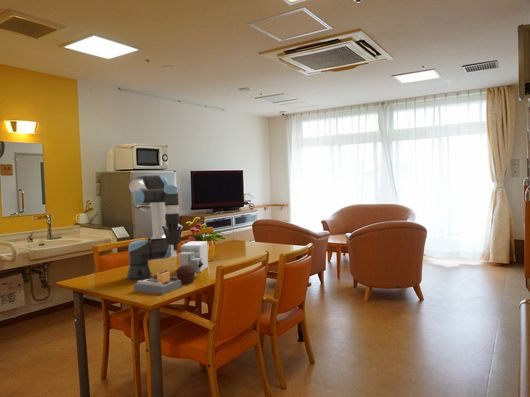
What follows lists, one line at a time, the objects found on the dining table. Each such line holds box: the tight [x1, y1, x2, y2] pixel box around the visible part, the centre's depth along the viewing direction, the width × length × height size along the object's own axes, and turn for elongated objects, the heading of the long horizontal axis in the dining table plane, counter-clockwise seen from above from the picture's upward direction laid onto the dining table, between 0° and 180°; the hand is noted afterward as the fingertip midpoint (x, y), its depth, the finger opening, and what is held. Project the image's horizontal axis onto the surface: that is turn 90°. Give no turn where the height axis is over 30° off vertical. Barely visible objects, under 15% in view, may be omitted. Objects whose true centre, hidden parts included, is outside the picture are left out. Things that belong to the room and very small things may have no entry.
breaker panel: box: [133, 274, 182, 295], centre depth 226 cm, size 20×16×6 cm
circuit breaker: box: [177, 252, 203, 277], centre depth 254 cm, size 8×14×15 cm, turn 79°
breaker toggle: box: [156, 269, 171, 283], centre depth 224 cm, size 4×6×6 cm, turn 155°
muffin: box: [175, 265, 196, 285], centre depth 240 cm, size 12×11×10 cm
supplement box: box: [180, 240, 209, 273], centre depth 274 cm, size 17×13×18 cm
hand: (173, 256), depth 220 cm, fingers closed
